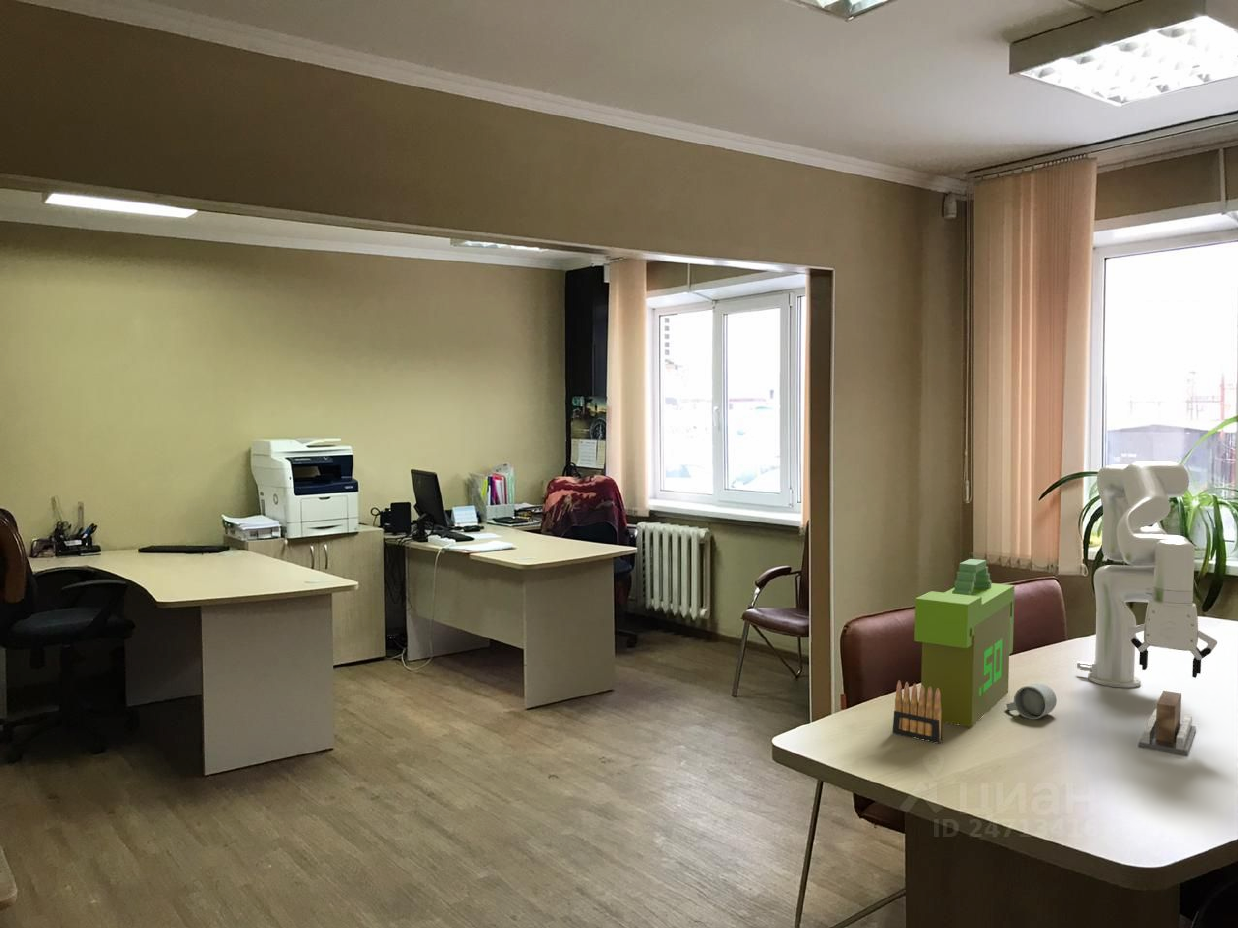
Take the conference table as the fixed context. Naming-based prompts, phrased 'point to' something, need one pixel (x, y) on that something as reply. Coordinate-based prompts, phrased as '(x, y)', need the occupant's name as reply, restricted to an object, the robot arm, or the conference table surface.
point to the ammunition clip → (918, 714)
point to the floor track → (1177, 747)
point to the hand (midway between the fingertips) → (1169, 672)
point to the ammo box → (966, 643)
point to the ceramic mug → (1033, 701)
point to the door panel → (1168, 716)
